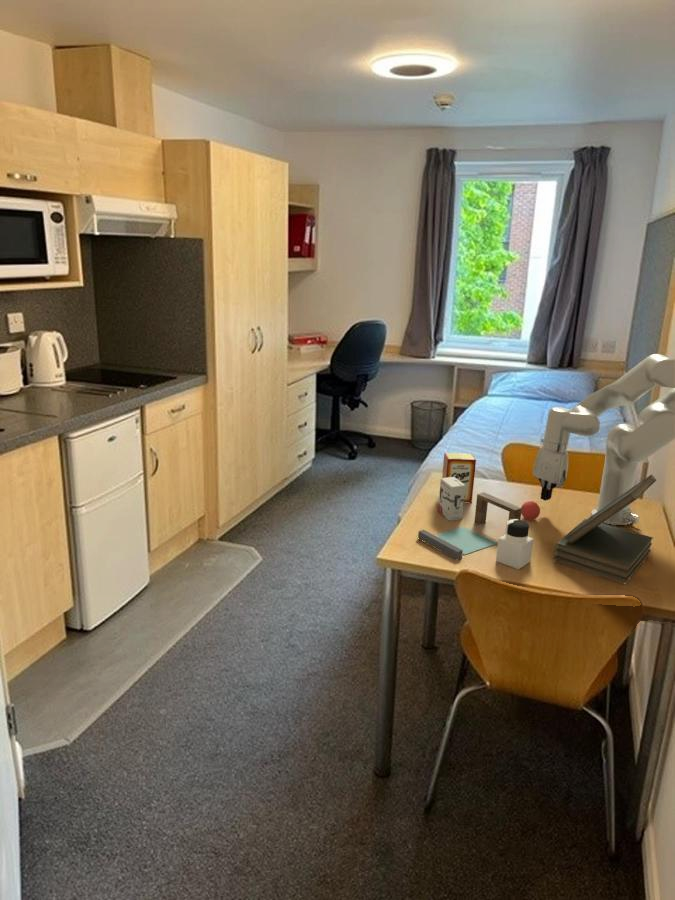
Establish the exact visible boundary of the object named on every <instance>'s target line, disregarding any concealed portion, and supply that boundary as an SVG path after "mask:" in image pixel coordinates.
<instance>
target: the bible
mask: <svg viewBox="0 0 675 900" xmlns="http://www.w3.org/2000/svg"><path fill="white" fill-rule="evenodd" d="M655 482H657V478H655V476H654V475H653V474H650V475H648V476H647V477H645V478H644V479H643V480H642V481H640V482H638V483H637V484H636V485H635V484H634V486H633V488H631V489H630V490H628V491H627V492H625V493H624V494H623V495H621V496H620V497H618V498H617V499H615V500H614V501H612V502H611V503H610V504H608V505H607V506H605V507H604V508H602V509H601V510H600V511H598V512H597V513H595V514H594V515H592V516H590V517H588V518H584V519H583V520H581V522H579V523H578V524H577V525H576V526H575V527H574V528H573V529H571V530H570V531H569V532H568V533H567V534H566V535H564V536H563V537H562V538H561V539H560V540H559V541H557V542H556V543H555V547H554V549H555V551H554V554H553V556H554V557H553V563H557V564H559V565H563V566H567V567H570V568H573V569H575V570H579V571H582V572H585V573H588V574H591V575H594V576H596V577H600V578H603V579H607V580H609V579H610V580H609V581H612V580H613V581H612V582H615V581H617V582H616V583H618V582H621V583H626V582H627V581H628V582H629V581H630V579H631V578H632V577H633V576H632V575H635V573H636V572H637V571H636V570H638V569H639V568H640V567H641V566H642V564H643V563H644V562H645V561H646V560H647V558H648V557H649V554H650V552H651V550H652V549H650V548H651V546H652V544H653V543H652V540H653V539H654V537H652V536H649V535H644V534H642V533H639V532H638V533H637V532H635V531H631V530H627V529H623V528H620V527H616V526H614V525H609V524H605V523H602V522H604V521H605V520H607V519H608V518H610V517H611V516H613V515H614V514H616V513H617V512H619V511H620V510H622V509H623V508H625V507H626V506H628V505H629V504H630V505H631V504H632V503H633V502H634V501H636V500H638V499H639V497H640V496H642V495H643V494H644V493H645V492H646V491H648V489H649V488H650V487H651V486H652V485H654V483H655ZM647 556H648V557H647ZM645 559H646V560H645ZM644 560H645V561H644ZM643 561H644V562H643ZM640 565H641V566H640ZM639 566H640V567H639ZM635 571H636V572H635ZM634 572H635V573H634ZM631 576H632V577H631ZM630 577H631V578H630ZM629 578H630V579H629ZM628 582H627V583H628ZM621 583H620V584H621ZM627 583H626V584H627Z"/></svg>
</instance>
